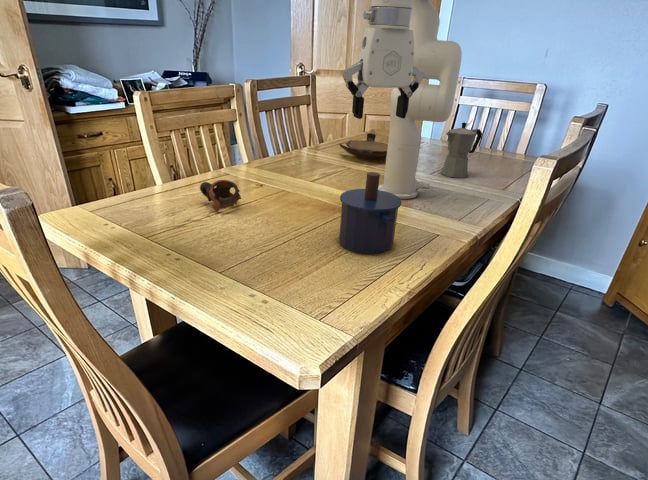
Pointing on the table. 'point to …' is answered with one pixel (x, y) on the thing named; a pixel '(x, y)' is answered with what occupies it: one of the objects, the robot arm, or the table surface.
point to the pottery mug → (220, 193)
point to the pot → (367, 230)
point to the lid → (371, 197)
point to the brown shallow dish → (366, 147)
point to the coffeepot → (460, 150)
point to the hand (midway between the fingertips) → (379, 117)
